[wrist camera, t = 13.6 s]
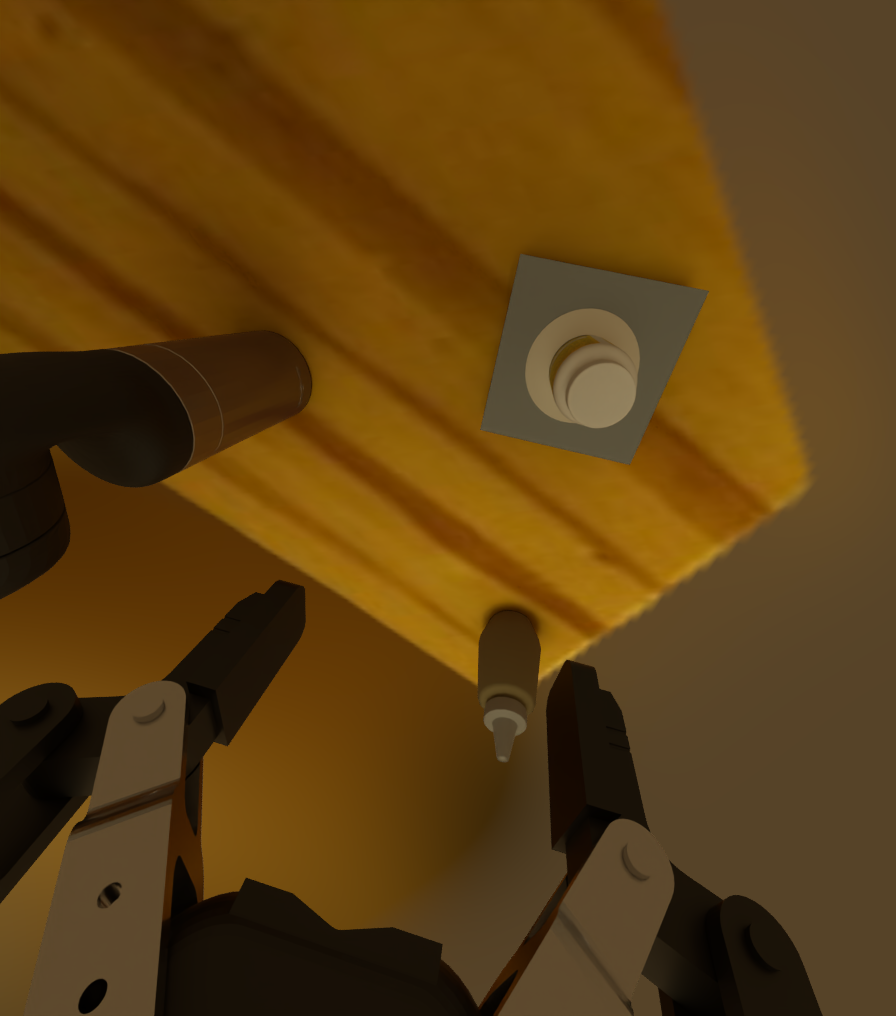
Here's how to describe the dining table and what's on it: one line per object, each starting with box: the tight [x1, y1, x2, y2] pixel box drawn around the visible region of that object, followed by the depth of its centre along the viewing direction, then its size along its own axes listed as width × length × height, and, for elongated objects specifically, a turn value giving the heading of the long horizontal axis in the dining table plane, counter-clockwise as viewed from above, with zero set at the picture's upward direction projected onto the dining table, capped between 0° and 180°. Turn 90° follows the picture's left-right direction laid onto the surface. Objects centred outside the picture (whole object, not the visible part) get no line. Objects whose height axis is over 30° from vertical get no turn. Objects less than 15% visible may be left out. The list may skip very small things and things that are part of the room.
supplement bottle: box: [549, 335, 637, 428], centre depth 27 cm, size 5×5×10 cm
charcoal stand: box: [480, 254, 709, 465], centre depth 34 cm, size 14×14×5 cm
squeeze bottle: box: [478, 611, 541, 762], centre depth 46 cm, size 8×8×18 cm
